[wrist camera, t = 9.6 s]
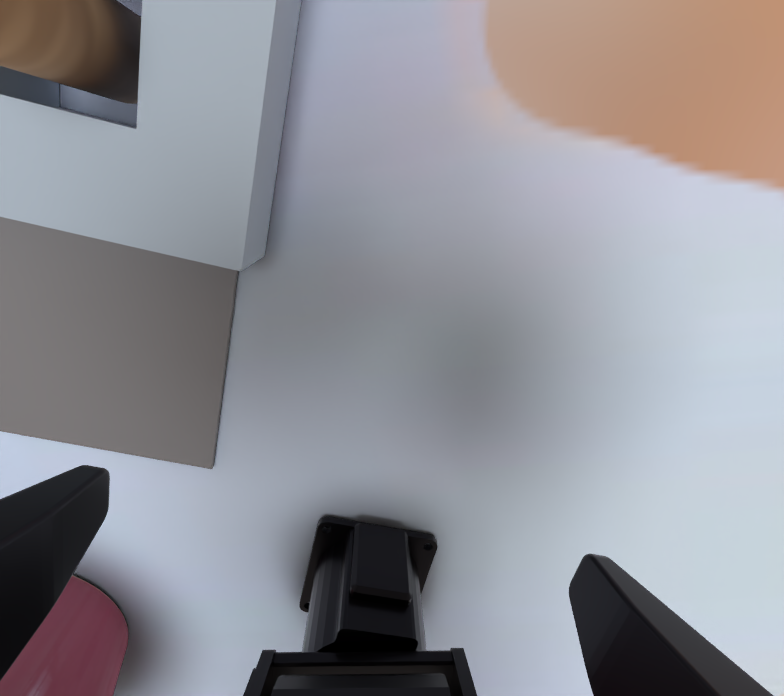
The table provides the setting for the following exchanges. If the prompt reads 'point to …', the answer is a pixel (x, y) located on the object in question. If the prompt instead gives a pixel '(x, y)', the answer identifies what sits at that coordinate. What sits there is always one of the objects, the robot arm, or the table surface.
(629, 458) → the table surface
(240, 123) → the socket block
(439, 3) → the table surface
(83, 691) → the plant pot
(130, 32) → the peg
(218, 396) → the mat
